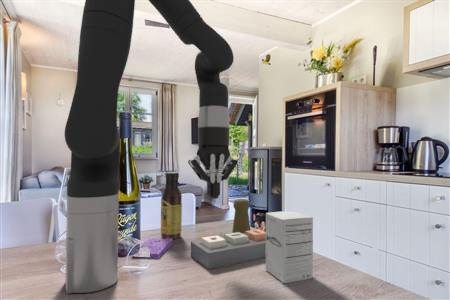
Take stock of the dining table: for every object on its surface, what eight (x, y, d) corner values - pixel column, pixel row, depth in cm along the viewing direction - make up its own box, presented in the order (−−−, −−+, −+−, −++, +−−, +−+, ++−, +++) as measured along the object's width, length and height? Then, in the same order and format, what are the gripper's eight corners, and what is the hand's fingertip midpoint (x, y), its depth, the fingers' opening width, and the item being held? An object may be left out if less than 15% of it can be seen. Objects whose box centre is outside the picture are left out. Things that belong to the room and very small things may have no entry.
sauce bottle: (159, 235, 91) (160, 171, 91) (179, 233, 93) (180, 171, 93) (161, 241, 85) (162, 172, 85) (183, 239, 86) (183, 172, 87)
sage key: (233, 248, 70) (233, 238, 70) (224, 243, 74) (224, 233, 74) (248, 245, 72) (248, 235, 72) (238, 241, 76) (238, 231, 76)
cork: (251, 231, 96) (251, 198, 96) (250, 236, 90) (250, 200, 90) (232, 231, 96) (232, 197, 96) (231, 236, 90) (231, 200, 90)
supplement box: (264, 270, 63) (264, 212, 63) (293, 265, 66) (293, 210, 66) (282, 284, 56) (282, 219, 57) (314, 278, 59) (314, 216, 59)
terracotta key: (254, 244, 73) (254, 234, 73) (245, 240, 77) (245, 230, 77) (268, 242, 75) (268, 232, 75) (258, 237, 79) (258, 228, 79)
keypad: (208, 269, 64) (208, 253, 64) (190, 255, 72) (190, 241, 72) (280, 253, 74) (280, 240, 74) (257, 243, 82) (257, 231, 82)
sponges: (172, 244, 83) (172, 238, 83) (158, 260, 70) (159, 253, 70) (149, 244, 83) (149, 237, 83) (130, 259, 71) (131, 252, 71)
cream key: (209, 252, 67) (209, 242, 67) (201, 247, 71) (201, 237, 71) (225, 249, 69) (225, 239, 69) (217, 244, 73) (217, 234, 73)
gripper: (194, 123, 64) (194, 202, 64) (245, 126, 71) (245, 198, 70) (182, 126, 70) (182, 198, 70) (229, 129, 77) (229, 194, 77)
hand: (213, 198), depth 70 cm, fingers closed
